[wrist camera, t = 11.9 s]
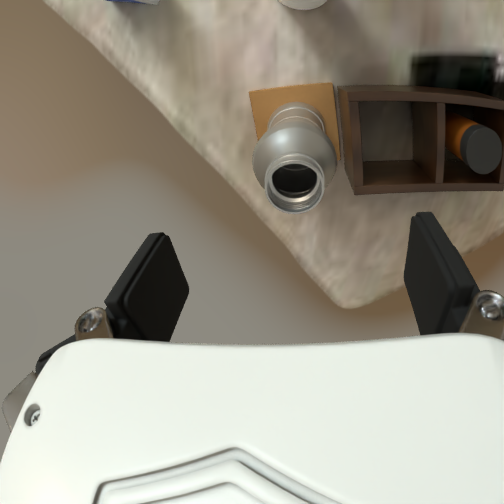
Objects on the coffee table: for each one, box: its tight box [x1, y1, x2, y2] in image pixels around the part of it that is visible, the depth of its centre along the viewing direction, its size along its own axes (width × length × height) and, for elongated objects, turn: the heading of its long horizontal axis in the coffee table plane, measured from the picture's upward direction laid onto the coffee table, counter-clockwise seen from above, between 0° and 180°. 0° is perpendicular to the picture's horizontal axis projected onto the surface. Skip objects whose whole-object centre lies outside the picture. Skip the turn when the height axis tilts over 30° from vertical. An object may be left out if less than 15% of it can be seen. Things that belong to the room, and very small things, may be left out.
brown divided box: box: [337, 85, 504, 195], centre depth 29 cm, size 11×20×8 cm, turn 100°
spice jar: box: [445, 110, 502, 174], centre depth 27 cm, size 5×5×10 cm
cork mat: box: [249, 83, 341, 160], centre depth 35 cm, size 10×10×1 cm
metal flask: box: [252, 102, 337, 214], centre depth 26 cm, size 6×7×20 cm
